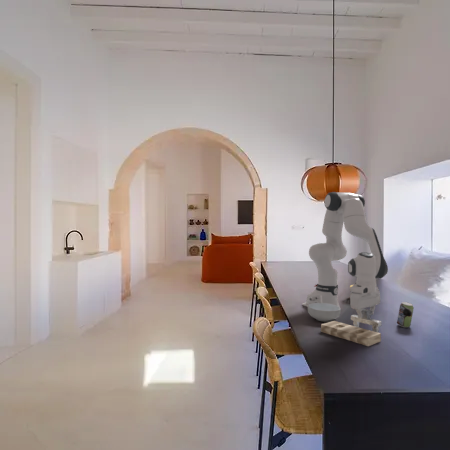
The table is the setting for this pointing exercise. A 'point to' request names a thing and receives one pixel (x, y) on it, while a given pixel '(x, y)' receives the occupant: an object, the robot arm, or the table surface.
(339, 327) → the beige flat rectangular block
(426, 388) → the table surface
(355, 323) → the gray u-shaped bracket
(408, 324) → the beverage can
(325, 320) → the cereal bowl
